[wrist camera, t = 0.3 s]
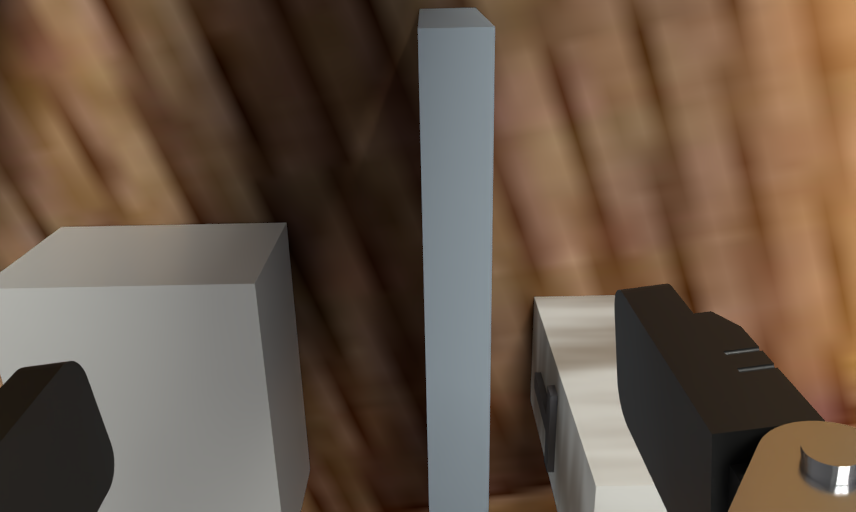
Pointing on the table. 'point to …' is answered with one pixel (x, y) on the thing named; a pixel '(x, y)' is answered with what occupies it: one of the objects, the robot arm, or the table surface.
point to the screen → (457, 250)
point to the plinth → (173, 357)
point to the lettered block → (585, 409)
